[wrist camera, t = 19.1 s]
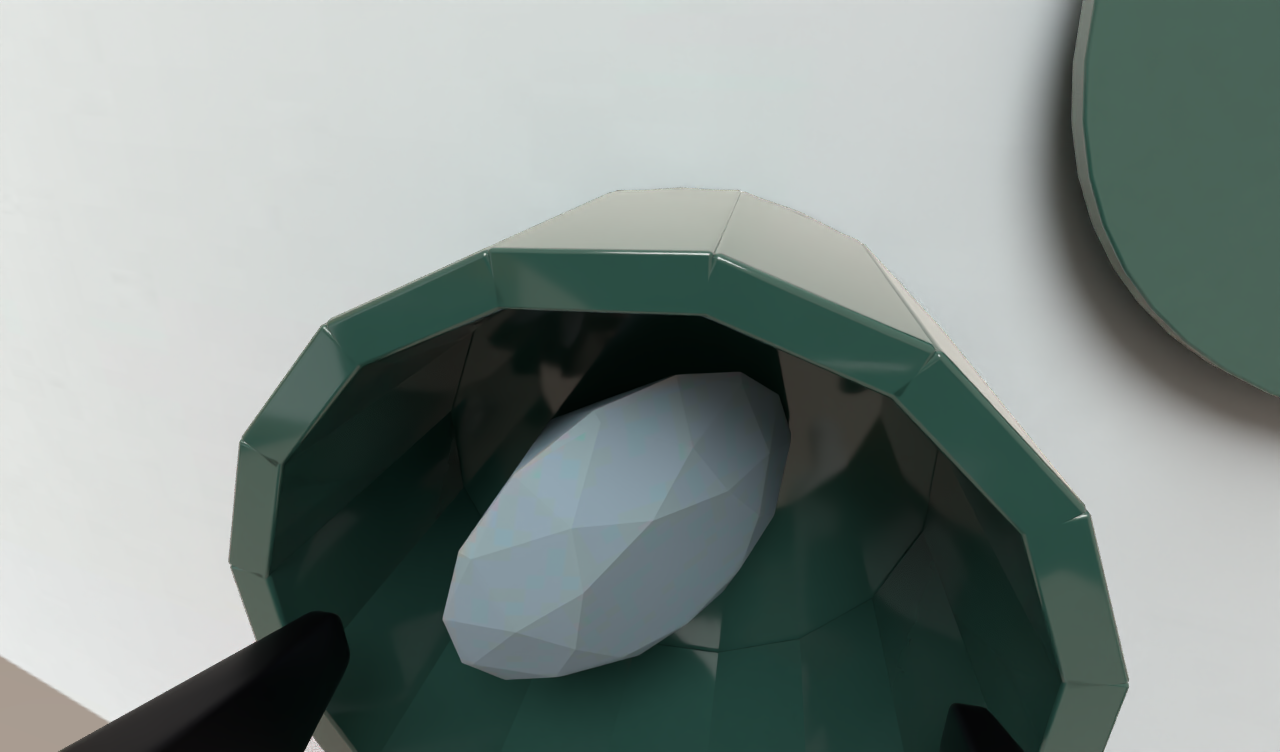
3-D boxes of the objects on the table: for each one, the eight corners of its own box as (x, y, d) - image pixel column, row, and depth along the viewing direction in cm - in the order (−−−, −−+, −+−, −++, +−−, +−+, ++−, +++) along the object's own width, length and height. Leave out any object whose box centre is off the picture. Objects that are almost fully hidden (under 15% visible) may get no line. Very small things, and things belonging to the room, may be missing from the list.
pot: (1019, 185, 11) (1299, 259, 5) (916, 683, 16) (1001, 1016, 10) (400, 188, 13) (111, 242, 8) (473, 621, 18) (330, 860, 12)
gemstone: (329, 552, 13) (393, 781, 10) (459, 221, 11) (604, 375, 7) (602, 534, 18) (704, 678, 15) (730, 311, 16) (885, 424, 13)
